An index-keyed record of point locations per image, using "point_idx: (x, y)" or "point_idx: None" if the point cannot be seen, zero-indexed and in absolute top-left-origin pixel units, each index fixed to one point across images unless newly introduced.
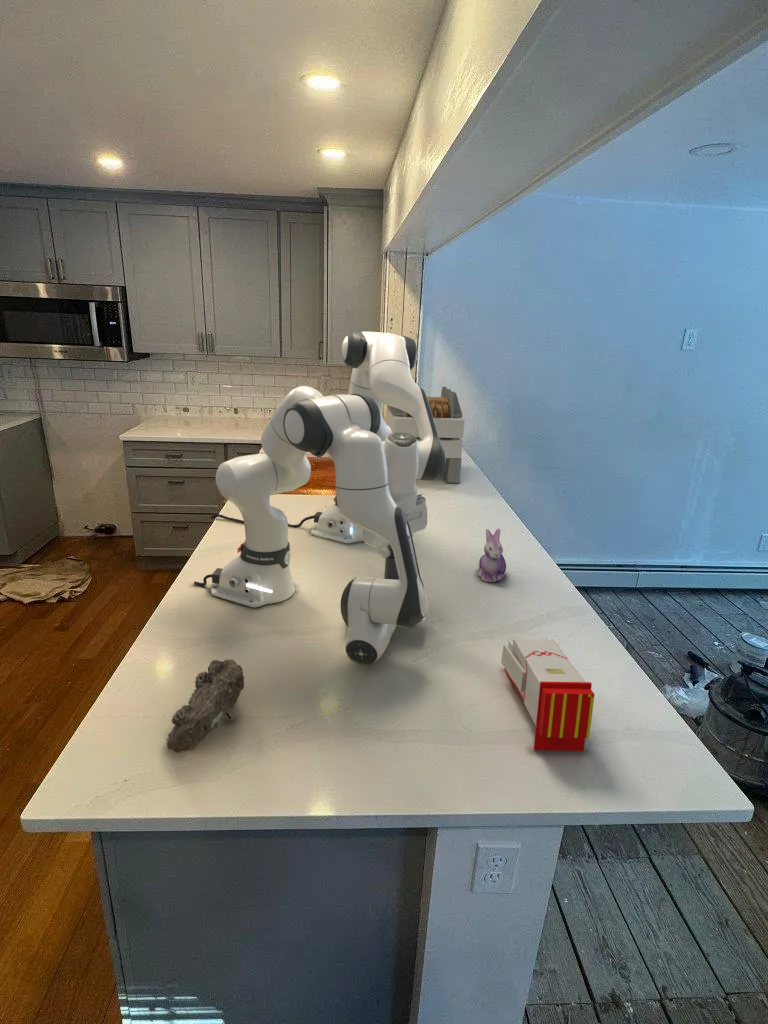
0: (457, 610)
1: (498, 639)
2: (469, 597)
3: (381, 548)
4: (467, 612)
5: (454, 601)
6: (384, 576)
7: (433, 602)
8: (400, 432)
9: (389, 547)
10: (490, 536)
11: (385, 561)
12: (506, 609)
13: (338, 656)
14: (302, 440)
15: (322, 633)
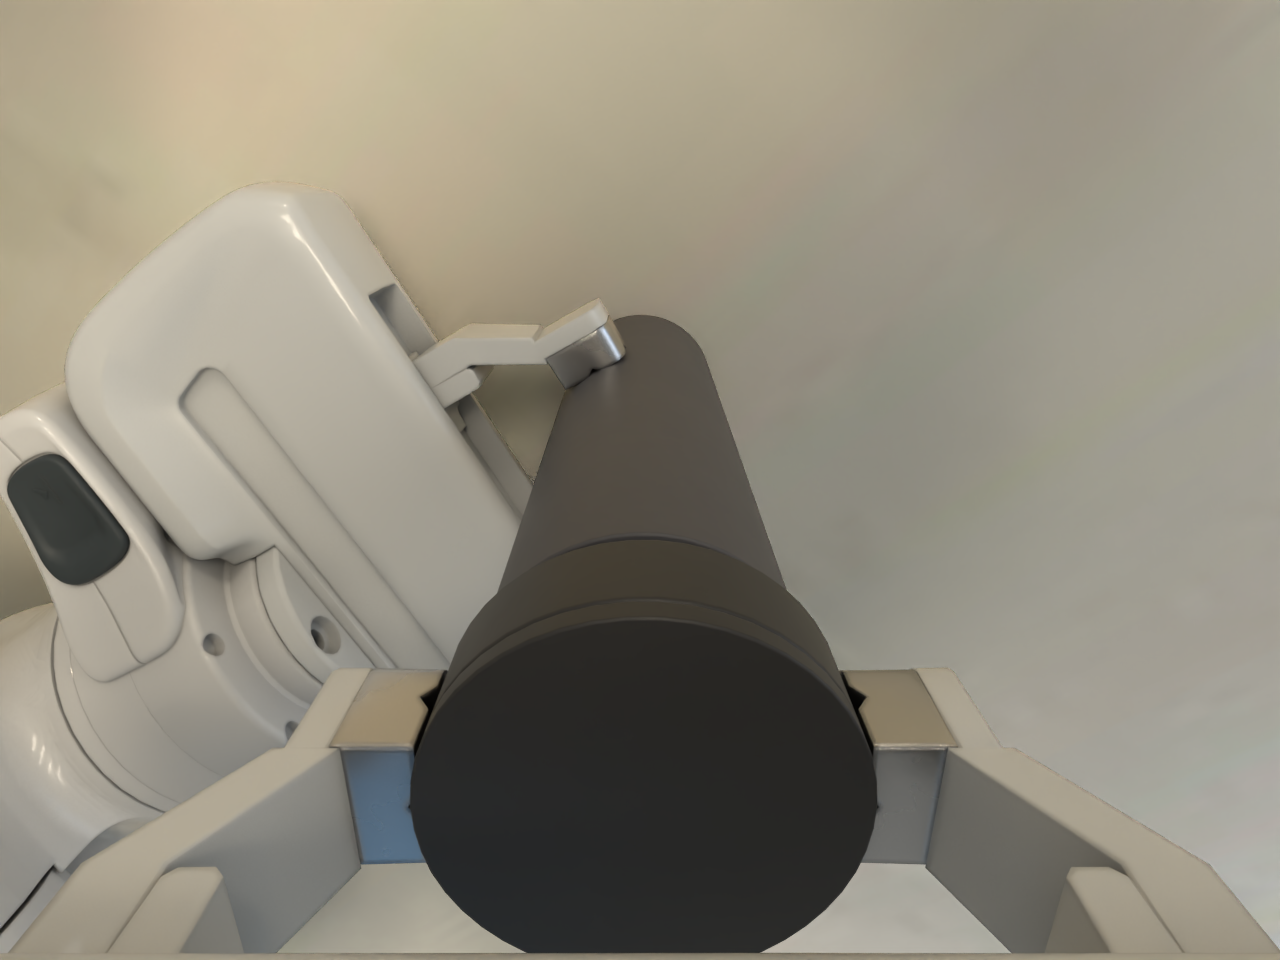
0: (987, 659)
1: (848, 933)
2: (1214, 615)
3: (231, 787)
4: (1005, 710)
5: (1092, 581)
6: (554, 443)
7: (981, 495)
8: None
9: (460, 806)
10: None
11: (521, 540)
12: (1190, 826)
13: (7, 526)
14: None
15: (26, 253)
